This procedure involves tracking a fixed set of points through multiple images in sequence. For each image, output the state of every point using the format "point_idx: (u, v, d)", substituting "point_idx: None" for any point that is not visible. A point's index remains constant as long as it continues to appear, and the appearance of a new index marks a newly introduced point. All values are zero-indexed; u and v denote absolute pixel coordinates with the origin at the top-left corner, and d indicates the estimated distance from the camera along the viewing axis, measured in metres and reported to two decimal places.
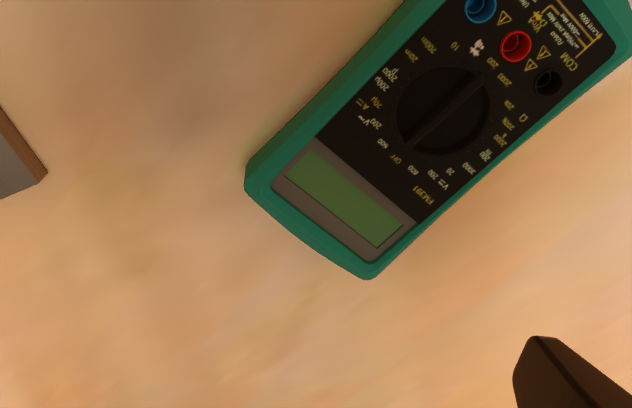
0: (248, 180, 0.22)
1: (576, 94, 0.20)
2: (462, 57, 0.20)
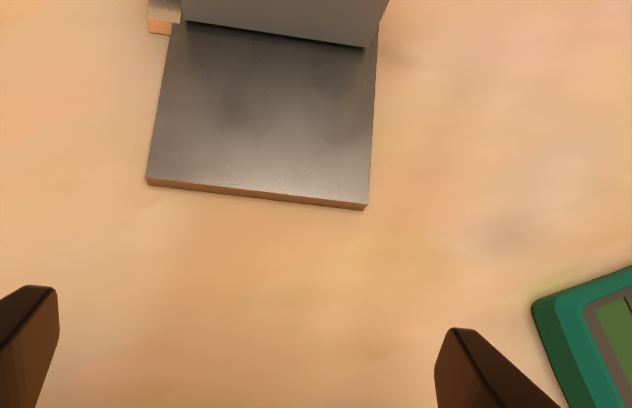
0: (563, 296, 0.22)
1: None
2: None
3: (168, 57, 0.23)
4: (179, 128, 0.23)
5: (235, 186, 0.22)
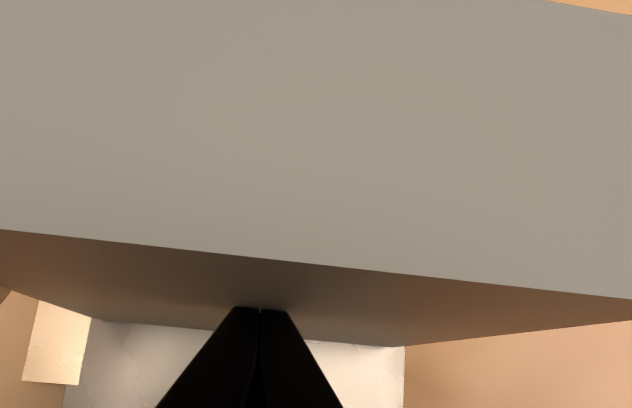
0: None
1: None
2: None
3: None
4: None
5: None
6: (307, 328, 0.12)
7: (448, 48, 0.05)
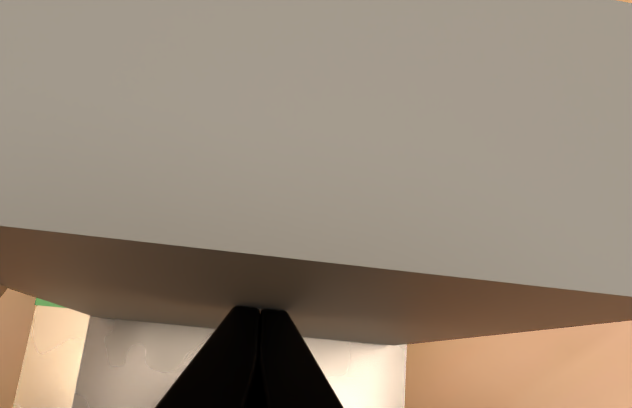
0: None
1: None
2: None
3: None
4: None
5: None
6: (308, 326, 0.11)
7: (455, 39, 0.05)
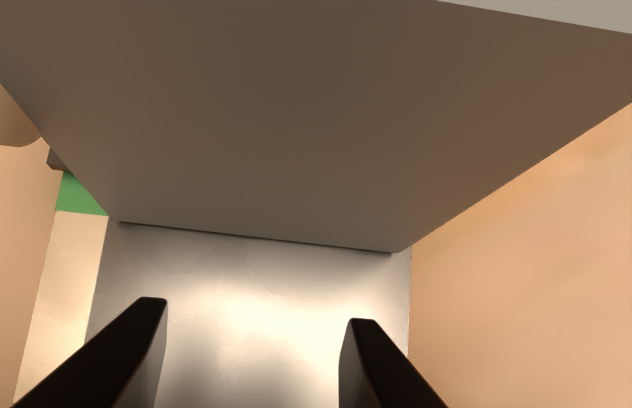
0: None
1: None
2: None
3: None
4: None
5: None
6: (320, 204, 0.12)
7: None
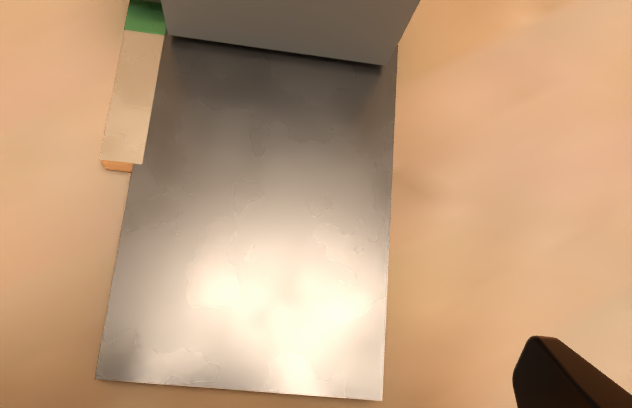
0: None
1: None
2: None
3: (127, 211, 0.18)
4: (140, 308, 0.18)
5: (211, 385, 0.17)
6: None
7: None
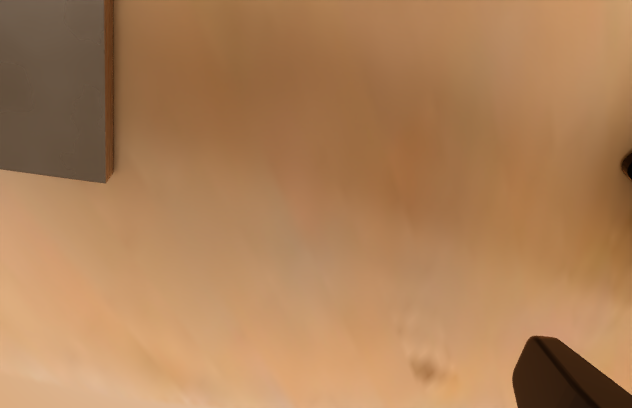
0: None
1: None
2: None
3: None
4: (42, 150, 0.20)
5: (102, 92, 0.19)
6: None
7: None
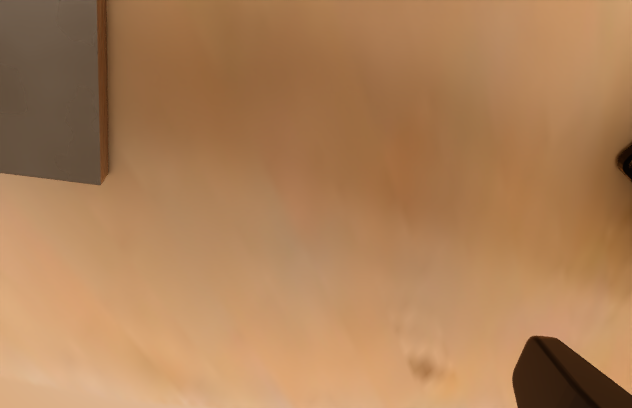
0: None
1: None
2: None
3: None
4: (36, 152, 0.20)
5: (96, 93, 0.19)
6: None
7: None
